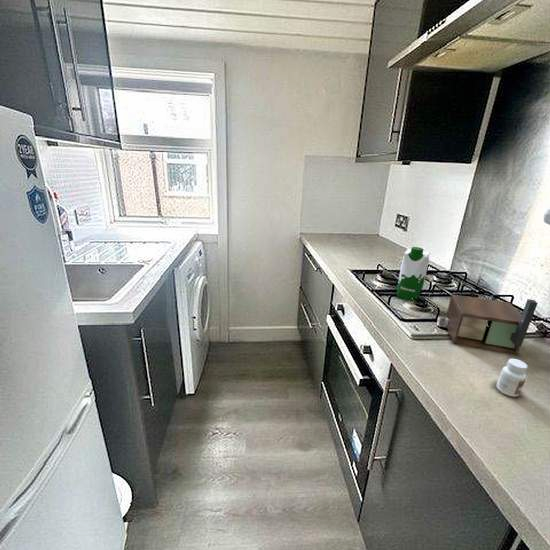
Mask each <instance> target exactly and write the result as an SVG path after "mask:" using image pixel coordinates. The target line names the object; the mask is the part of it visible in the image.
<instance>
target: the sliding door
mask: <svg viewBox="0 0 550 550" xmlns="http://www.w3.org/2000/svg"><path fill="white" fill-rule="evenodd" d="M537 306H538V302H537V301H536V300H535V299H529V298H527V299H526V303H525V305H524V307H523V310H522V313H521V315H522V316H521V318H520V321H519V324H518V325H514V324H507V323H501V322H495V321H492V323H491V326H490V329H489V332H488V335H487V338H486V341H485V343H486V344H492V345H497V346H503V347H509V348H514V347H515V346H520V348H521V347H522V345H523V342H524V340H525V337H526V335H527V332H528V329H529V327H530V324H531V323H532V319H533V317H534V314H535V311H536V309H537Z"/></svg>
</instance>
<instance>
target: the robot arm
mask: <svg viewBox="0 0 550 550" xmlns="http://www.w3.org/2000/svg"><path fill="white" fill-rule="evenodd" d="M543 222H544V223H545V224H547V225H549V226H550V207H549V208H547V209H546V210H545V212H544V214H543Z"/></svg>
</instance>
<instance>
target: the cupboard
mask: <svg viewBox="0 0 550 550" xmlns="http://www.w3.org/2000/svg"><path fill="white" fill-rule="evenodd" d="M449 299H450V300H449V303H448V307H447V310H446V311H447V312H446V314H445V318H446V317H447V318H448V319H449V324H448V325H446V324H445V326H446V329H447V331H448V334H449V336H450V339H451V341H452V343H453V344H454V345H455V344H456V345H461V346H466V347H471V348H477V349H483V350H487V351H494V352H500V353H505V354H511V355H516V356H517V355H518V354H519V351H520V350H521V349H520V348H521V347H520V346H515V347H514V348H509V347H503V346H497V345H492V344H486V343H485V341H486V338H487V335H488V332H489V329H490V326H491V323H492V321H495V322H501V323H507V324H514V325H518V324H519V321H520V318H521V316H522V313H520V312H519V311H518V310H517V309H516V307H515V306H514V305H513V304H512V303H511V302H509V301H502V300H494V299H487V298H480V297H474V296H466V295H461V294H460V295H459V294H453V293H452V294H451V296H450V298H449ZM487 324H488V326H489V327H487ZM486 327H487V328H486Z"/></svg>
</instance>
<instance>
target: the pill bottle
mask: <svg viewBox="0 0 550 550" xmlns="http://www.w3.org/2000/svg"><path fill="white" fill-rule="evenodd" d="M527 369H528V364H527V363H525V362H524V361H523V360H520V359H517V358H509V359H508V360H507V362H506V365H505V366H503V367H502V369H501V371H500V375H499V377H498V380H497V383H496V388H497V390H498V391H499V392H500V393H502V394H504V395H506V396H509V397H518V396H520V394H521V391H522V389H523V387H524V384H525V382H526V379H527V374H526V373H527Z"/></svg>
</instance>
